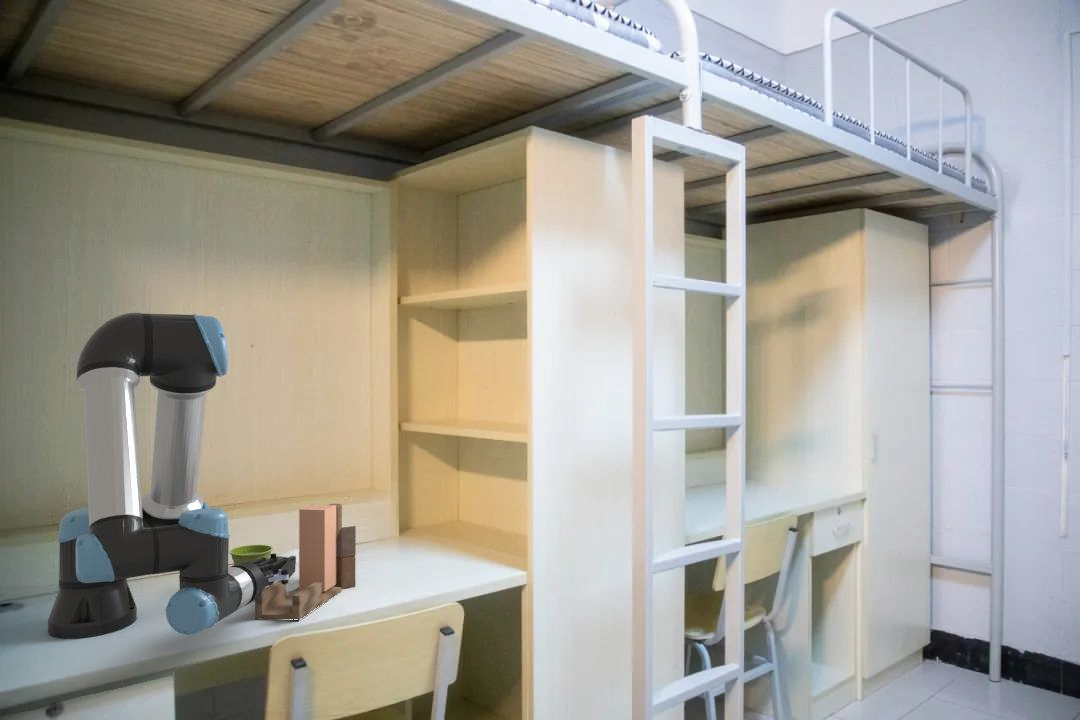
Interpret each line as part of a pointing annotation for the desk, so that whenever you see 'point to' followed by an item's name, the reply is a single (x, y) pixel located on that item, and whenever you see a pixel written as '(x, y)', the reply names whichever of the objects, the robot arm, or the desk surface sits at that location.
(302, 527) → the block
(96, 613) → the robot arm
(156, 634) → the desk surface
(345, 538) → the brown stepped tower
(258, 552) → the plant pot
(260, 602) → the chute
